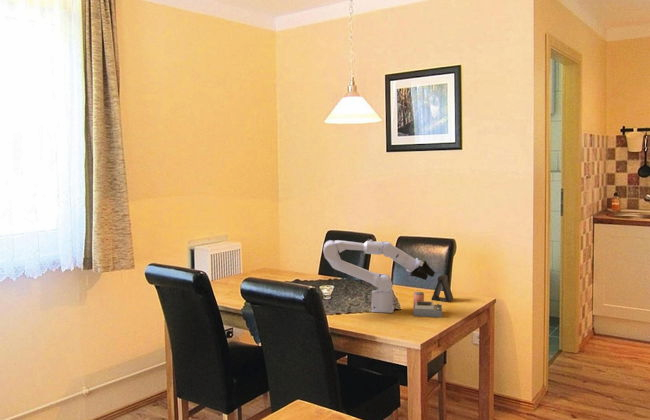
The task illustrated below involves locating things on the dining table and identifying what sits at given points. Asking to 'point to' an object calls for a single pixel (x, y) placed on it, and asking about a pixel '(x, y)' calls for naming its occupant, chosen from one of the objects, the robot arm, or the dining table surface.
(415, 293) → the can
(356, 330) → the dining table surface
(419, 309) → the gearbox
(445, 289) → the phone stand
